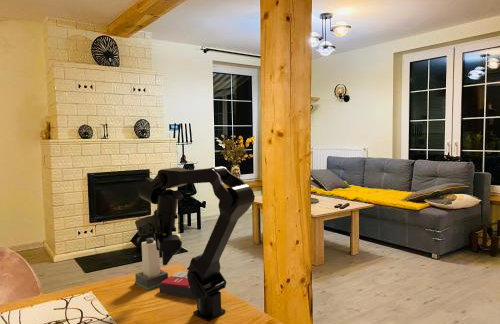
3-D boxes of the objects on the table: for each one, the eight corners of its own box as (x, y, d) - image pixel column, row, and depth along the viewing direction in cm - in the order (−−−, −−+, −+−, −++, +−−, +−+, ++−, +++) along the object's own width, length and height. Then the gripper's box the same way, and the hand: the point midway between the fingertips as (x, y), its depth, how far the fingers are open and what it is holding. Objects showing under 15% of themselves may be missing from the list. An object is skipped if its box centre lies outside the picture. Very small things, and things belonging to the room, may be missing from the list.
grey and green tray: (169, 282, 123) (168, 272, 123) (147, 290, 117) (146, 280, 117) (156, 276, 128) (155, 266, 128) (135, 283, 123) (134, 273, 123)
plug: (160, 280, 123) (158, 238, 121) (149, 284, 120) (147, 241, 119) (154, 277, 126) (152, 236, 124) (143, 280, 123) (141, 239, 121)
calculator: (178, 269, 125) (217, 273, 119) (179, 281, 126) (218, 286, 120) (158, 282, 115) (199, 287, 109) (159, 295, 116) (200, 301, 110)
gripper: (133, 198, 114) (129, 244, 117) (144, 223, 97) (138, 276, 101) (169, 198, 118) (164, 242, 122) (185, 222, 102) (179, 272, 106)
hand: (161, 257), depth 113 cm, fingers open, 9 cm apart
